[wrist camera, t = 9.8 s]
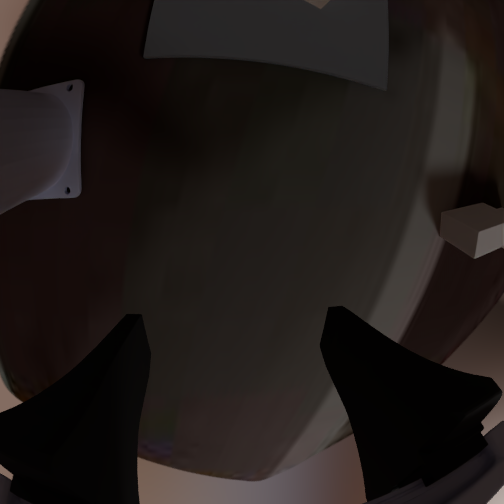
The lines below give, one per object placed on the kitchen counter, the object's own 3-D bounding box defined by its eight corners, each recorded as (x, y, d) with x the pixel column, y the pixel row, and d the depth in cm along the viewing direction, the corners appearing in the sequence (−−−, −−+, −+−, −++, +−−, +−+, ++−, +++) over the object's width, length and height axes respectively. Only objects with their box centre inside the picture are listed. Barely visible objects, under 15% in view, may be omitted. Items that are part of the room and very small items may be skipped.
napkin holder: (410, 238, 21) (452, 268, 16) (462, 134, 18) (509, 144, 13) (471, 289, 26) (500, 314, 21) (512, 212, 22) (544, 229, 17)
